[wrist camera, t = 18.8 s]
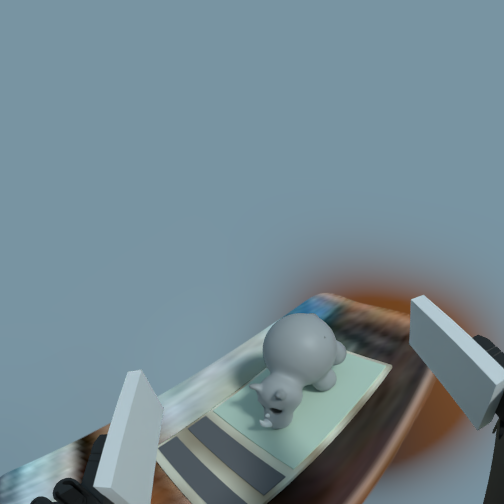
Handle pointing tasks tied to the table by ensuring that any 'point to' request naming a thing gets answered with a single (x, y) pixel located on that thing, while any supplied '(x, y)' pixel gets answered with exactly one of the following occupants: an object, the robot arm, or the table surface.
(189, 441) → the board
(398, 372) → the table surface
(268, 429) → the pad
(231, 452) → the dark gray parallel strips
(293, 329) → the chubby cartoon animal
